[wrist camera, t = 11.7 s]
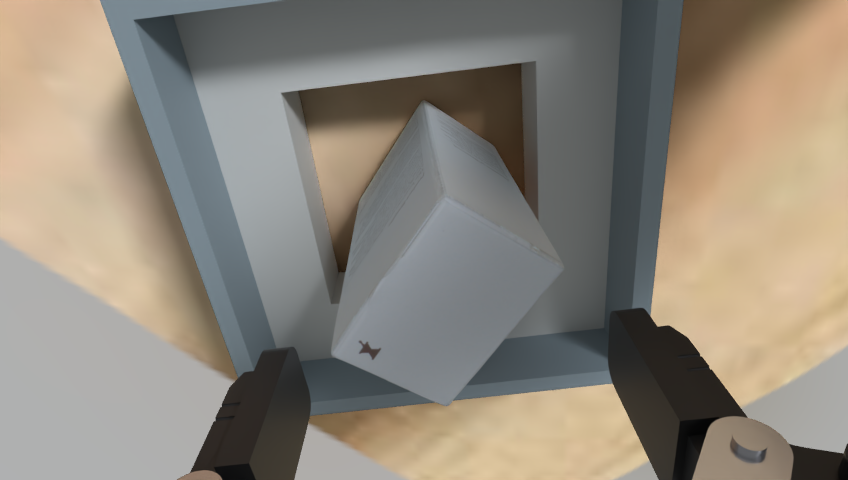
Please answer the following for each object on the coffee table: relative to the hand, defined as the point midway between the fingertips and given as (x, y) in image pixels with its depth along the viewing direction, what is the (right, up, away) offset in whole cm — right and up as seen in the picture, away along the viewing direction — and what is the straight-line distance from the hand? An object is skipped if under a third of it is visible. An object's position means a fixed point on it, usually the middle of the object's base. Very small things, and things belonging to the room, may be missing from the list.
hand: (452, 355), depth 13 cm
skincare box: (-1, +6, +12) cm, 14 cm away
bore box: (-1, +6, +12) cm, 13 cm away
